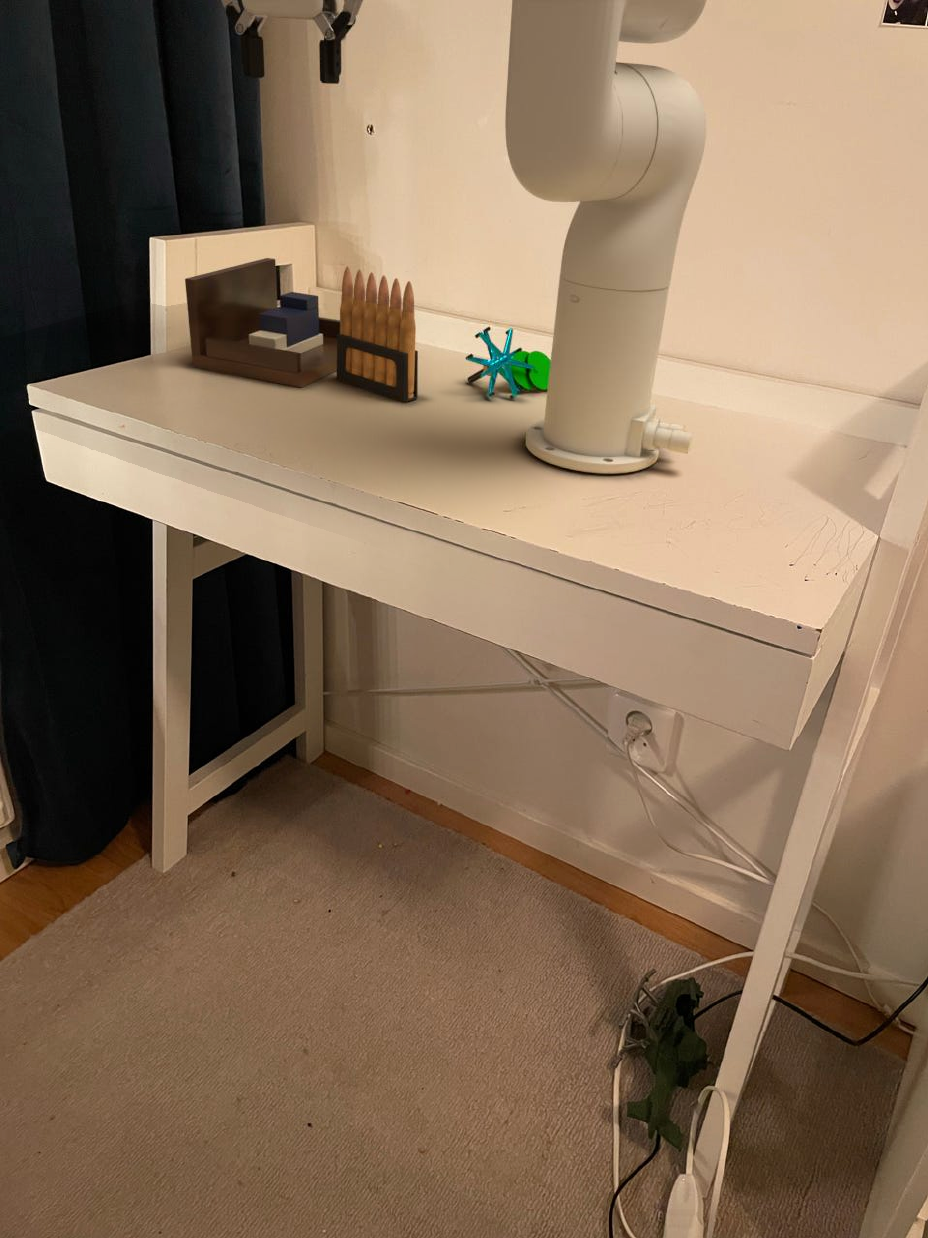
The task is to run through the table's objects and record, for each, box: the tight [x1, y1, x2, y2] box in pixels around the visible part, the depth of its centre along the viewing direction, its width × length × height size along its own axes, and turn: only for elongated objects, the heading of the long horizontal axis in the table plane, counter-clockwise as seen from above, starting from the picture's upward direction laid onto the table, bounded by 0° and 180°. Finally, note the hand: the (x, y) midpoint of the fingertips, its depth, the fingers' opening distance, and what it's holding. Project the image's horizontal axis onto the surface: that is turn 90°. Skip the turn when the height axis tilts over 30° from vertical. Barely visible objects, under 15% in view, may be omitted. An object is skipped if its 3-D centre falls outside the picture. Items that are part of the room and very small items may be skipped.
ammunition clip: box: [335, 266, 419, 403], centre depth 98 cm, size 11×2×12 cm, turn 50°
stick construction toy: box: [465, 326, 551, 400], centre depth 104 cm, size 12×7×8 cm
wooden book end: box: [184, 257, 340, 388], centre depth 106 cm, size 16×14×10 cm
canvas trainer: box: [249, 291, 323, 353], centre depth 105 cm, size 10×4×6 cm, turn 158°
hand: (291, 80), depth 103 cm, fingers open, 9 cm apart
